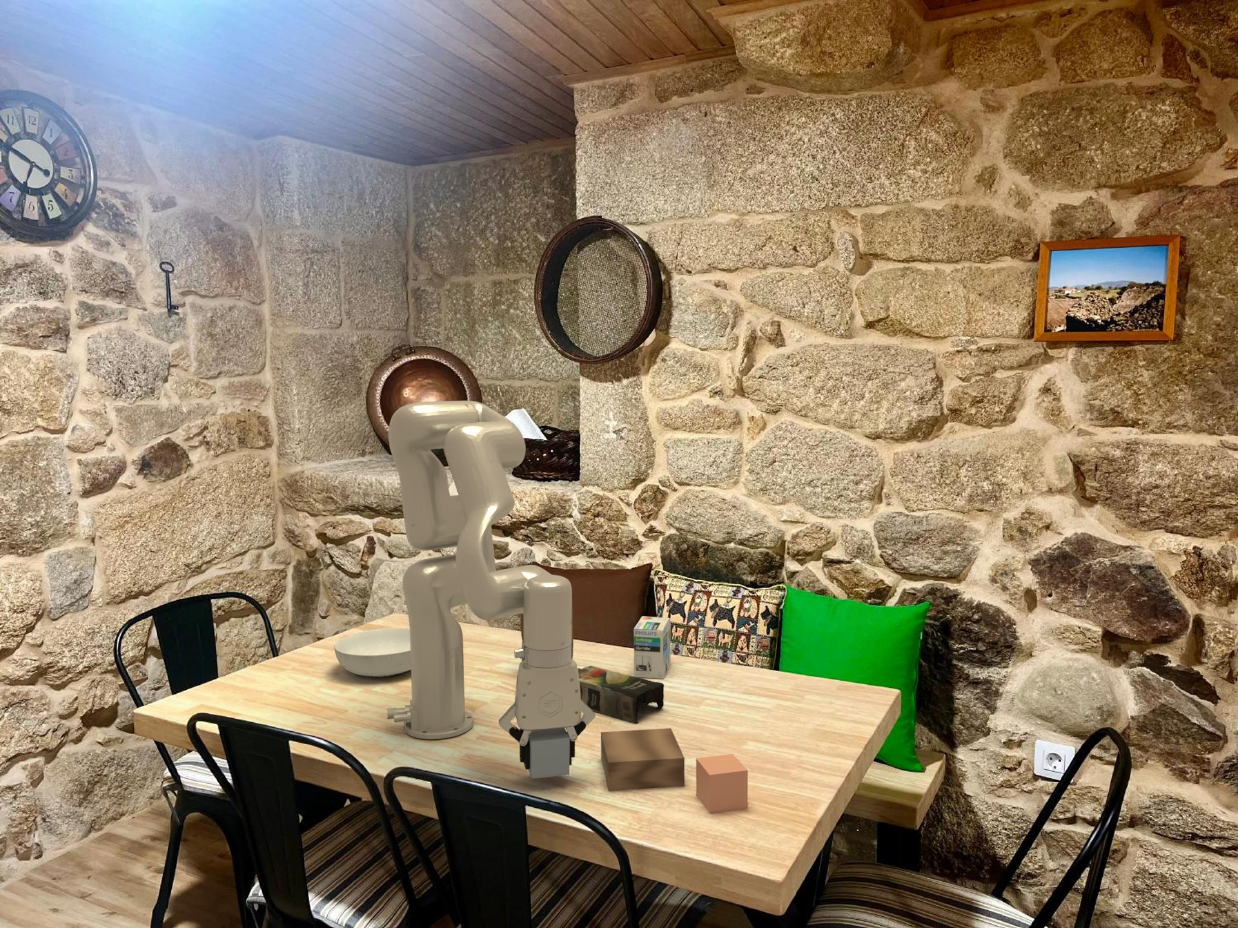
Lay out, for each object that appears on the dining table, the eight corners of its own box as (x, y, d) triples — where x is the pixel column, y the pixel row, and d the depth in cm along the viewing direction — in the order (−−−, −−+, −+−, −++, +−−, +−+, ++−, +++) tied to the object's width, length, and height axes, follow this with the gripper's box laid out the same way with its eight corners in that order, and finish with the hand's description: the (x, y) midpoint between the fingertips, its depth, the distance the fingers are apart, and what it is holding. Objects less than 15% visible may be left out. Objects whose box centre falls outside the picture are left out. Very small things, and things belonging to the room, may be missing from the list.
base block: (608, 793, 140) (608, 762, 139) (601, 760, 152) (600, 731, 151) (684, 788, 141) (684, 757, 141) (671, 756, 153) (670, 727, 153)
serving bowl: (390, 650, 213) (389, 622, 212) (452, 666, 201) (451, 636, 200) (315, 674, 196) (314, 643, 195) (377, 693, 184) (376, 660, 183)
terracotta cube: (709, 813, 132) (709, 774, 132) (696, 795, 138) (696, 758, 138) (747, 808, 134) (747, 770, 133) (732, 790, 140) (732, 753, 139)
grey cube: (531, 778, 140) (531, 741, 139) (525, 761, 145) (525, 726, 145) (569, 774, 141) (569, 738, 140) (562, 757, 147) (562, 722, 146)
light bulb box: (664, 679, 191) (664, 630, 190) (633, 677, 192) (632, 628, 191) (671, 663, 201) (671, 616, 200) (641, 662, 203) (641, 615, 202)
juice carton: (555, 702, 179) (555, 672, 178) (587, 689, 186) (587, 660, 186) (634, 727, 166) (635, 695, 166) (665, 712, 174) (666, 681, 173)
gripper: (495, 666, 135) (495, 780, 137) (606, 658, 139) (605, 768, 142) (489, 650, 142) (490, 758, 145) (595, 643, 147) (594, 748, 149)
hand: (547, 762), depth 143 cm, fingers closed on grey cube, 6 cm apart
